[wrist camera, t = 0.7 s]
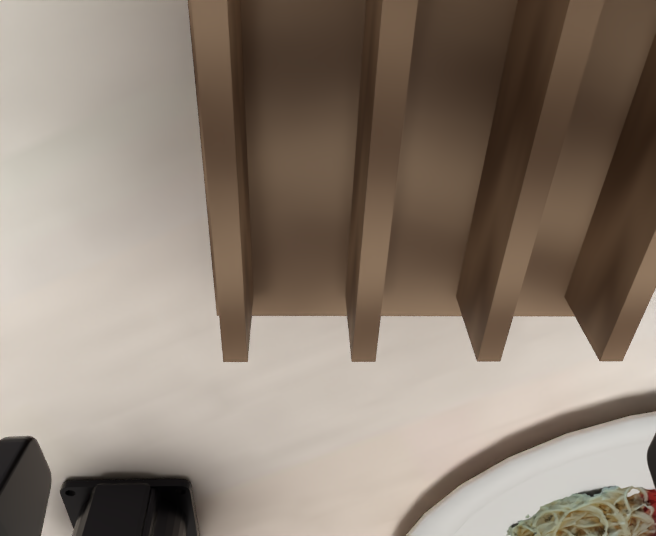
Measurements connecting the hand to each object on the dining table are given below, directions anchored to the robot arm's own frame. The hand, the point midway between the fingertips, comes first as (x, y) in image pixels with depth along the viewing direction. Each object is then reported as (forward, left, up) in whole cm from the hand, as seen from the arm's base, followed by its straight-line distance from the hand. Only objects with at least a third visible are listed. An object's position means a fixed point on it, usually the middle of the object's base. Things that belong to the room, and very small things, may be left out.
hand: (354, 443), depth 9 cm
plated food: (-28, -20, -14) cm, 37 cm away
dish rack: (+1, -4, -14) cm, 14 cm away
